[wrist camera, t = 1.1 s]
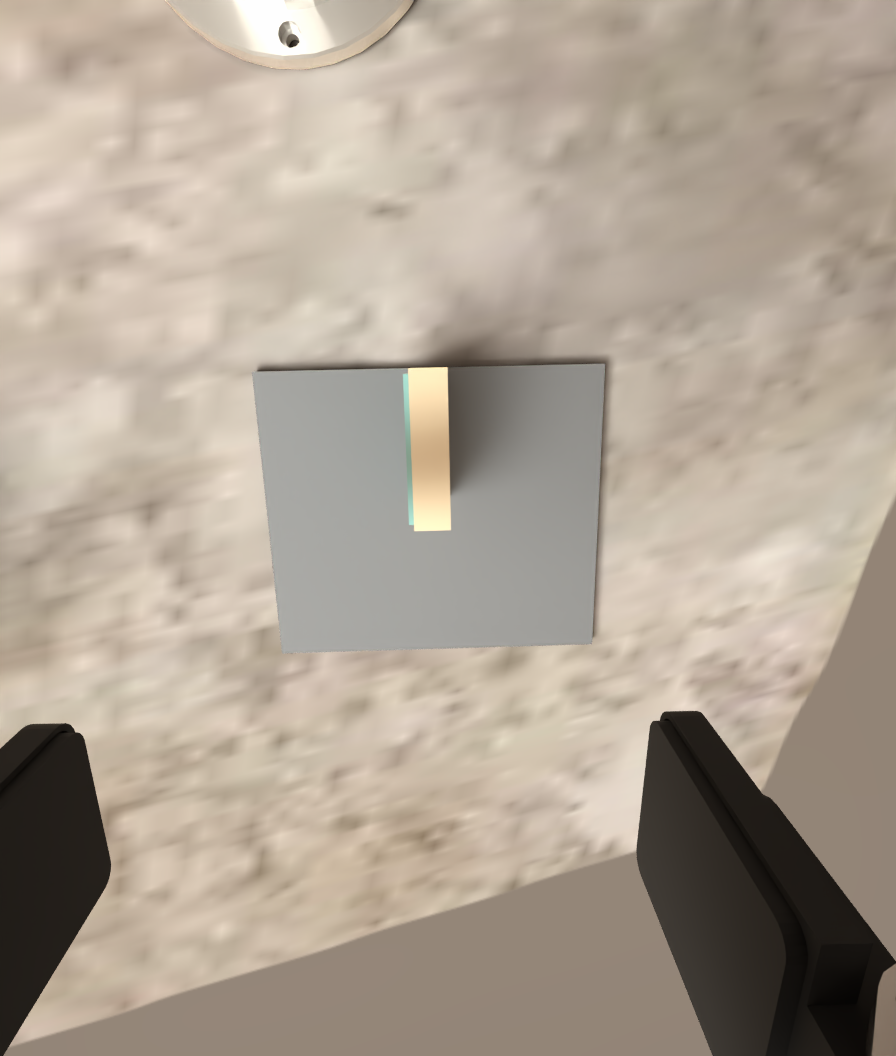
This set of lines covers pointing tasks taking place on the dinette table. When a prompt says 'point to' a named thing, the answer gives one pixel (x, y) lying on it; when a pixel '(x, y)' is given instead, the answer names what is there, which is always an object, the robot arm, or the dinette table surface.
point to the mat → (475, 498)
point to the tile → (427, 448)
